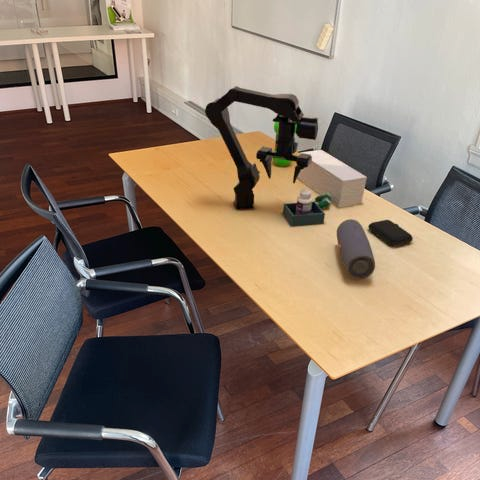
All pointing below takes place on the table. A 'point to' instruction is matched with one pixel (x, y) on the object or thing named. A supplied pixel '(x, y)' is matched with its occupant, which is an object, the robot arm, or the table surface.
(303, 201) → the pill bottle
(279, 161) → the plastic bottle
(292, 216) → the tray
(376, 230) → the carrying case
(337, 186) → the long white box
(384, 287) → the table surface
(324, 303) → the table surface
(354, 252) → the bluetooth speaker
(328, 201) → the gaming controller
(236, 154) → the robot arm
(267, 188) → the table surface
